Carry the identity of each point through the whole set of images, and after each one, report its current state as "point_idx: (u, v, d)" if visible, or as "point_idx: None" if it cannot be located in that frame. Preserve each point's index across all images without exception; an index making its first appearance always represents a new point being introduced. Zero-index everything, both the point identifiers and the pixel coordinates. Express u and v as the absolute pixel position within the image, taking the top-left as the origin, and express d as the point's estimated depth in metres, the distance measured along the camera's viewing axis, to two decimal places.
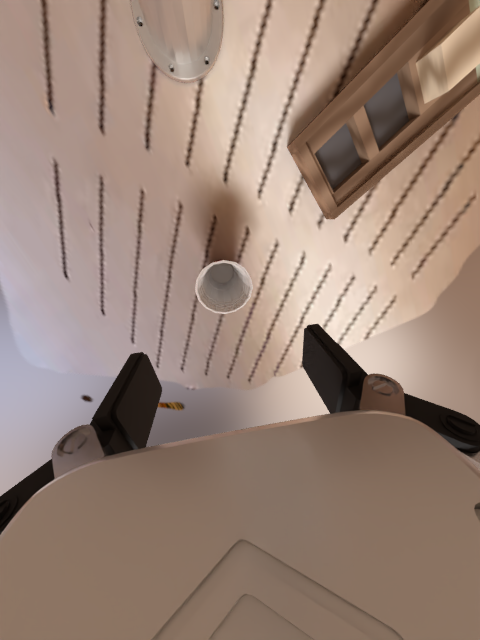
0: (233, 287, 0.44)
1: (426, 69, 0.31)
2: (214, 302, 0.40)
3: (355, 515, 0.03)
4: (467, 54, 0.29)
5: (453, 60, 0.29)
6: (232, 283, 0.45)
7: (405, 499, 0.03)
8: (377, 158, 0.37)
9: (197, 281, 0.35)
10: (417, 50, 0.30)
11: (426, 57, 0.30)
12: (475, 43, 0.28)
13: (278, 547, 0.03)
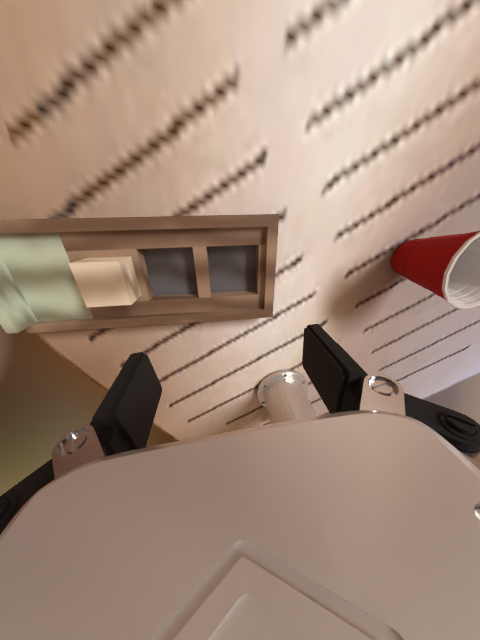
0: None
1: (135, 288, 0.29)
2: None
3: (355, 515, 0.03)
4: (99, 280, 0.25)
5: (115, 284, 0.26)
6: (424, 239, 0.32)
7: (405, 499, 0.03)
8: (196, 242, 0.28)
9: None
10: (139, 302, 0.31)
11: (137, 297, 0.29)
12: (90, 283, 0.25)
13: (277, 546, 0.03)
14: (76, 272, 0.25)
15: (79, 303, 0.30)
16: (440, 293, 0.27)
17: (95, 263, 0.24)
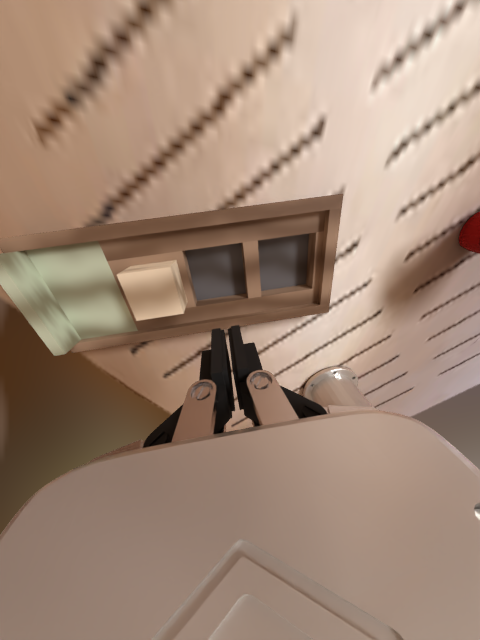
0: None
1: (183, 294, 0.26)
2: None
3: (355, 515, 0.03)
4: (149, 290, 0.23)
5: (166, 293, 0.23)
6: None
7: (405, 499, 0.03)
8: (247, 236, 0.25)
9: None
10: (185, 309, 0.29)
11: (185, 304, 0.27)
12: (139, 294, 0.23)
13: (278, 547, 0.03)
14: (125, 283, 0.22)
15: (123, 316, 0.28)
16: None
17: (145, 271, 0.22)
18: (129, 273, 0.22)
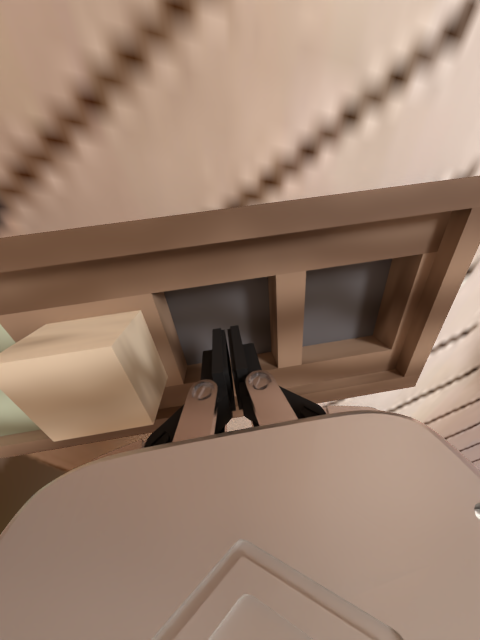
0: None
1: (156, 375, 0.13)
2: None
3: (355, 515, 0.03)
4: (69, 391, 0.10)
5: (111, 394, 0.10)
6: None
7: (405, 499, 0.03)
8: (286, 264, 0.12)
9: None
10: None
11: (161, 392, 0.14)
12: (48, 400, 0.10)
13: (278, 546, 0.03)
14: (6, 383, 0.09)
15: None
16: None
17: (50, 358, 0.09)
18: (11, 362, 0.09)
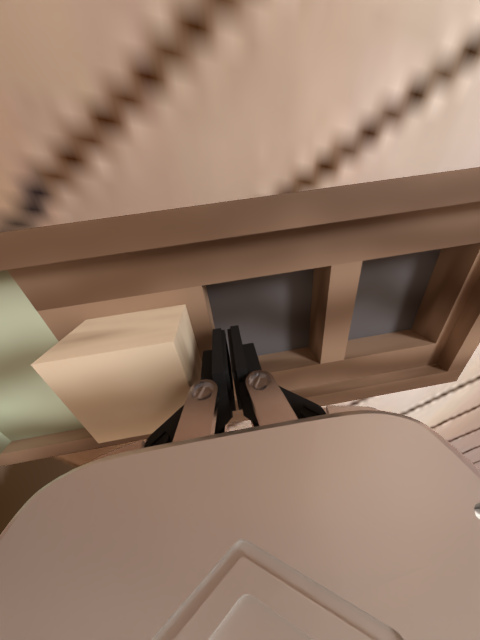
0: None
1: (199, 372, 0.13)
2: None
3: (355, 515, 0.03)
4: (122, 390, 0.09)
5: (165, 393, 0.10)
6: None
7: (405, 499, 0.03)
8: (343, 254, 0.11)
9: None
10: None
11: None
12: (99, 399, 0.09)
13: (277, 546, 0.03)
14: (59, 381, 0.09)
15: None
16: None
17: (108, 354, 0.08)
18: (66, 359, 0.08)
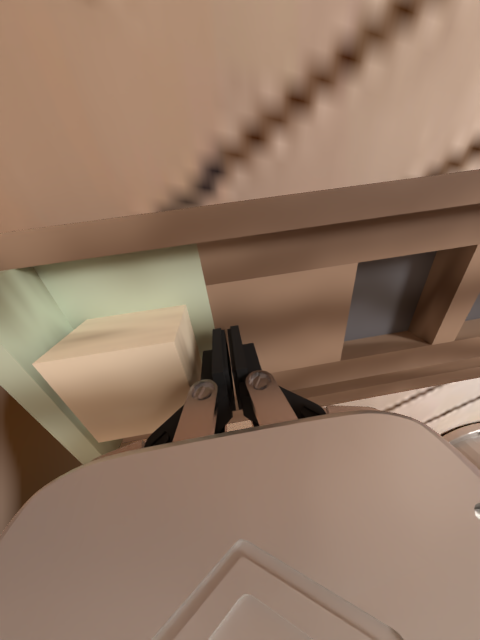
0: None
1: (199, 372, 0.13)
2: None
3: (355, 515, 0.03)
4: (123, 389, 0.09)
5: (165, 392, 0.10)
6: None
7: (405, 499, 0.03)
8: None
9: None
10: (321, 366, 0.16)
11: None
12: (99, 399, 0.09)
13: (277, 546, 0.03)
14: (59, 381, 0.09)
15: None
16: None
17: (109, 354, 0.08)
18: (67, 359, 0.08)
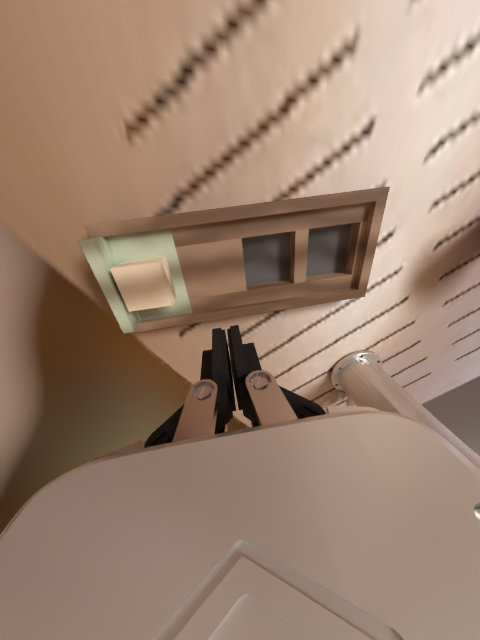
0: None
1: (172, 288, 0.28)
2: None
3: (355, 515, 0.03)
4: (140, 283, 0.25)
5: (156, 286, 0.25)
6: None
7: (405, 499, 0.03)
8: (300, 225, 0.28)
9: None
10: (237, 293, 0.32)
11: (174, 297, 0.29)
12: (131, 287, 0.25)
13: (277, 546, 0.03)
14: (117, 277, 0.24)
15: (181, 298, 0.31)
16: None
17: (136, 266, 0.24)
18: (121, 267, 0.24)
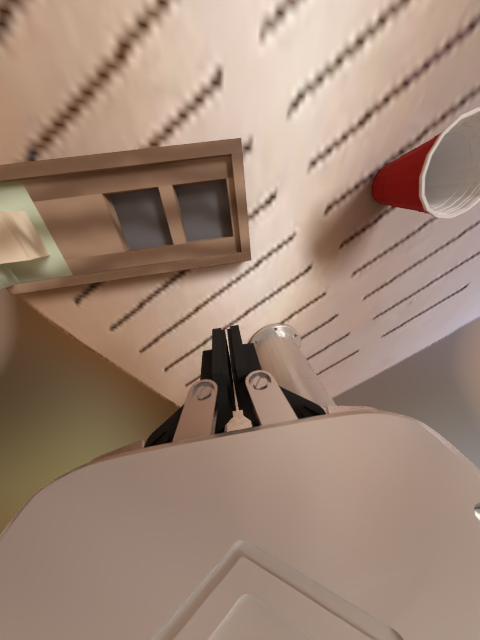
0: None
1: (36, 245, 0.28)
2: (476, 156, 0.25)
3: (355, 515, 0.03)
4: None
5: (4, 238, 0.25)
6: None
7: (405, 499, 0.03)
8: (161, 181, 0.28)
9: (468, 208, 0.25)
10: (115, 254, 0.31)
11: (40, 255, 0.29)
12: None
13: (277, 547, 0.03)
14: None
15: (56, 259, 0.31)
16: (419, 204, 0.25)
17: None
18: None
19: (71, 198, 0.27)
